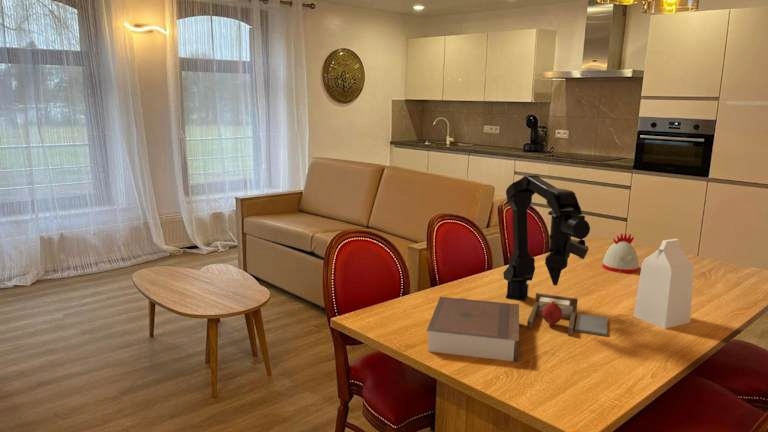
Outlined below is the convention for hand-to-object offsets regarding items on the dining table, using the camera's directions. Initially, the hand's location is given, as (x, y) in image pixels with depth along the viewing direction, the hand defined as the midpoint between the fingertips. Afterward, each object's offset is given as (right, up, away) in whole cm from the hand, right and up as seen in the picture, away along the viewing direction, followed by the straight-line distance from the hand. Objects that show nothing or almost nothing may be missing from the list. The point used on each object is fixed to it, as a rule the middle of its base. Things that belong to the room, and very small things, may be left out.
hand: (556, 281), depth 179 cm
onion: (-2, -14, -1) cm, 14 cm away
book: (-27, -16, -10) cm, 33 cm away
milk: (+35, -13, +6) cm, 38 cm away
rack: (-1, -13, +2) cm, 13 cm away
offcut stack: (+2, -12, +8) cm, 14 cm away
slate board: (+11, -14, -1) cm, 17 cm away
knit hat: (+45, -2, +61) cm, 75 cm away
